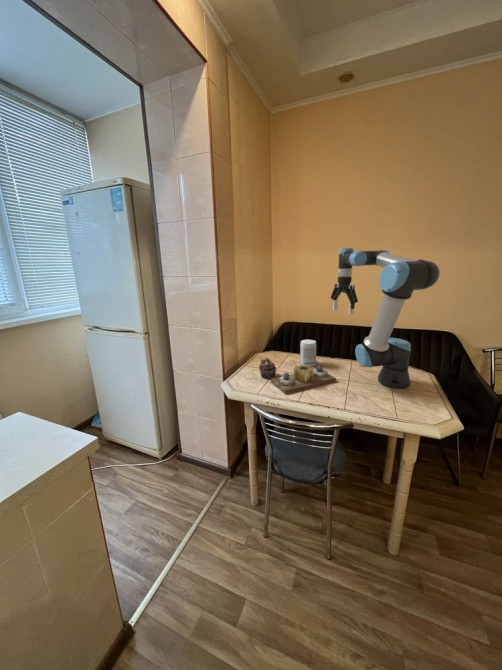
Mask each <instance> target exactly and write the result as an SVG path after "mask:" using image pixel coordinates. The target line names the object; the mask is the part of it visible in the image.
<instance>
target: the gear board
mask: <svg viewBox="0 0 502 670" xmlns="http://www.w3.org/2000/svg"><path fill="white" fill-rule="evenodd" d="M301 370H306V369H301ZM336 382H337V378H336V377H335V376H333V375H331V374H329V373H328V371H327V370H325V369H324V368H323V365H321V364H320V365H319V364H315V368H314V373H313V379H312V381H308V382H307V383H304V382H301V381H300V382H297V380H296V379H294V373H292V374H289V372H284V373H283V375H282V376H279V377H274V378H271V379H270V383H271V384H272V385H273V386H275V387H276V388H277V389H278V390H279V391H281V392H282V393H283V394H284V395H289V394H293V393H297V392H300V391H304V390H308V389H311V388H315V387H320V386H324V385H327V384H332V383H336Z"/></svg>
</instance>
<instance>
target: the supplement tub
mask: <svg viewBox="0 0 502 670" xmlns="http://www.w3.org/2000/svg"><path fill="white" fill-rule="evenodd" d="M299 348H300V351H299V352H300V354H299V355H300V357H299V358H300V359H299V360H300V365H306V366H307V365H310V367H314V366H316V365H317V341H316V340H313V339H302V340H301V341H300V347H299Z"/></svg>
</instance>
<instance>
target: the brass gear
mask: <svg viewBox="0 0 502 670" xmlns="http://www.w3.org/2000/svg"><path fill="white" fill-rule="evenodd" d="M301 369H306V370H301ZM314 369H315V368H314V366H310V365H307V366H306V365H301V364H300V365H295V366H294V368H293V374H294V379H296V380H297V382H300V381H301V382H304V383H307V382H308V381H312V379H313V373H314Z"/></svg>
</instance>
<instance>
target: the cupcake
mask: <svg viewBox="0 0 502 670" xmlns="http://www.w3.org/2000/svg"><path fill="white" fill-rule="evenodd" d="M258 369H259V373H260V376H261V378H262V379H265V380H269V379H270V380H271V379H274V378H276V372H277V367H276V364H275V363H274V362H273V361H272V360H271V359H268V358H265V359H261V360H260V363H259V367H258Z"/></svg>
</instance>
